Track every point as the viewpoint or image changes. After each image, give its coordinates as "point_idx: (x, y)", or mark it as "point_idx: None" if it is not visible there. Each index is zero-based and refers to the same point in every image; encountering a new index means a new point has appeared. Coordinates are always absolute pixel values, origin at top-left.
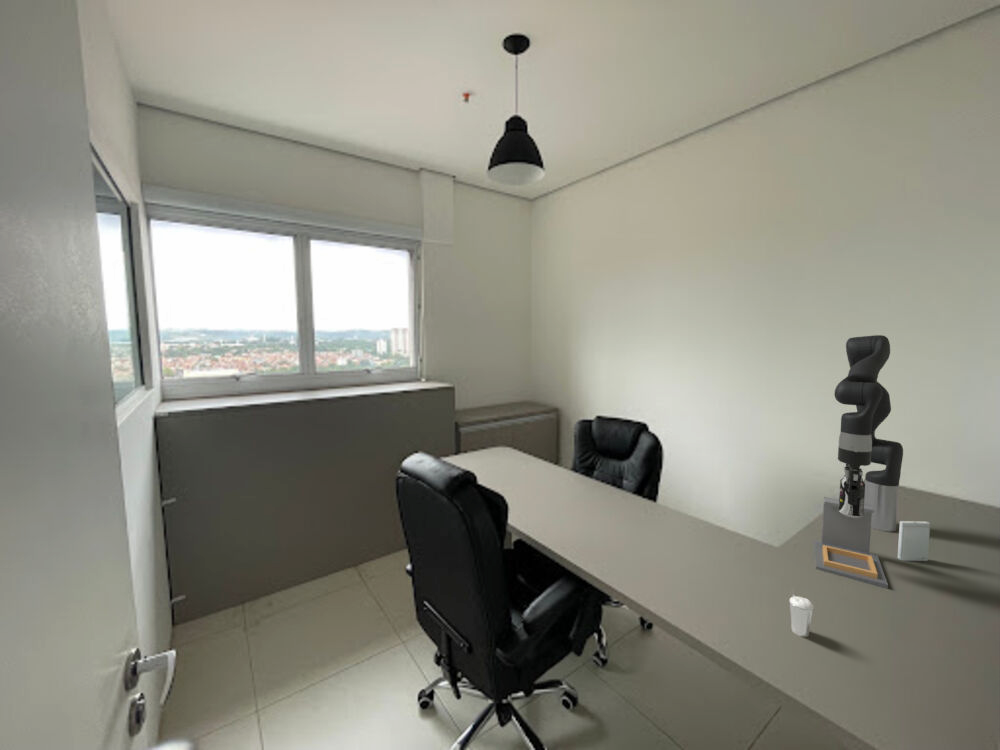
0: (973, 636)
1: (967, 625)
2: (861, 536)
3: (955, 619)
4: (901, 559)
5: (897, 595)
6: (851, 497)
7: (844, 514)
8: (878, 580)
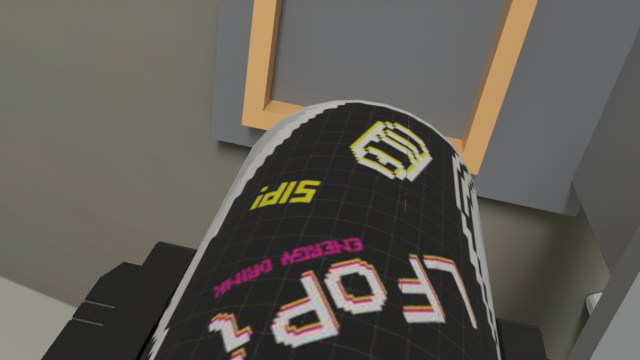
0: (27, 259)
1: (91, 274)
2: (617, 201)
3: (111, 259)
4: (586, 300)
5: (186, 146)
6: (57, 347)
7: (272, 128)
8: (234, 112)
